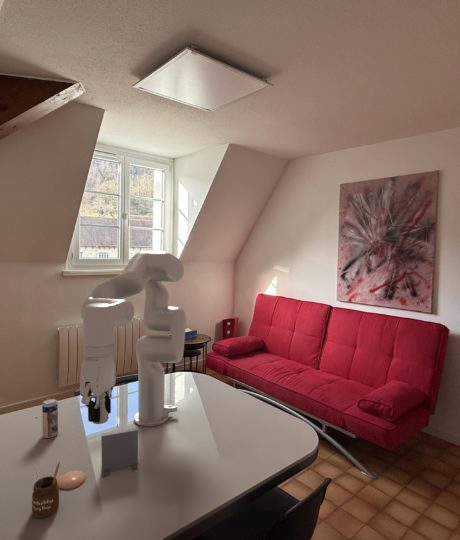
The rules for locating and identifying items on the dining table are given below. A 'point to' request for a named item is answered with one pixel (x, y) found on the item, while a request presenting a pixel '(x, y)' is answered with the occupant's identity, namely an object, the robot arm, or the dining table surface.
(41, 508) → the utensil holder
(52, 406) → the beer can
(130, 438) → the grey upright panel
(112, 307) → the robot arm
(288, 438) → the dining table surface
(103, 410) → the rook chess piece
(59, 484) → the pink round domed part
